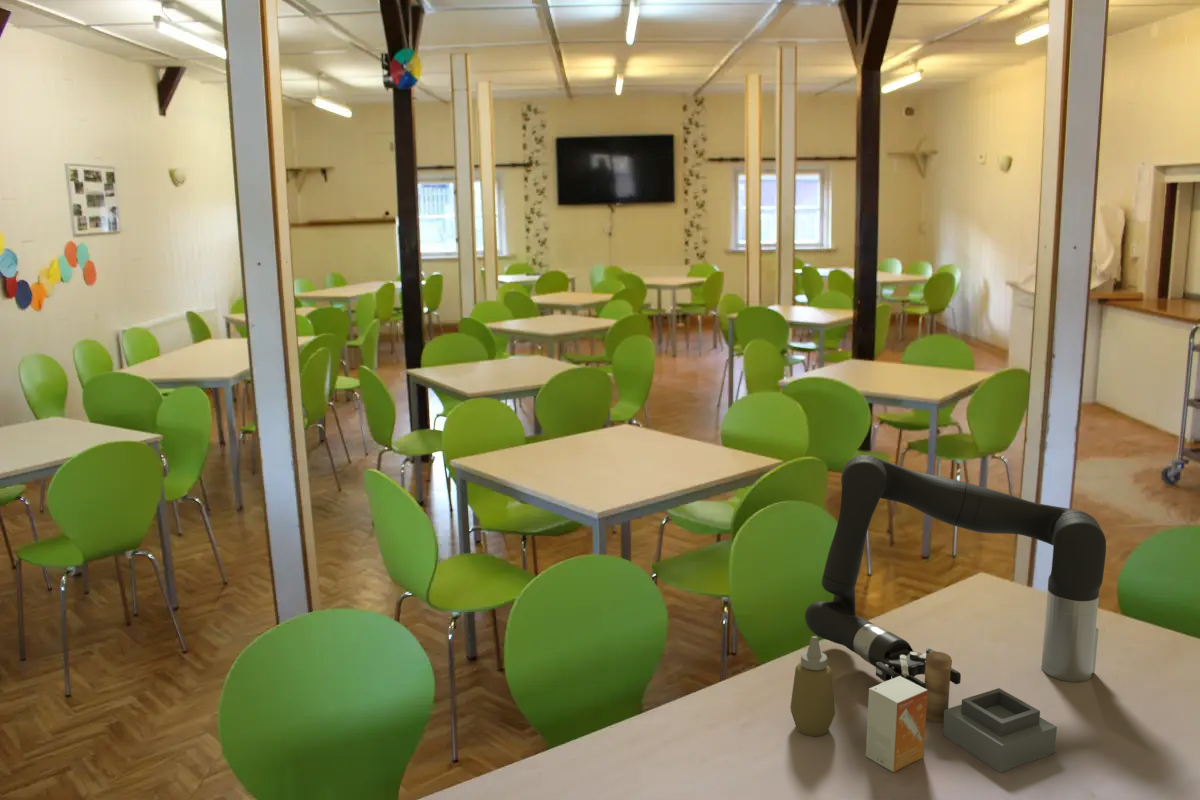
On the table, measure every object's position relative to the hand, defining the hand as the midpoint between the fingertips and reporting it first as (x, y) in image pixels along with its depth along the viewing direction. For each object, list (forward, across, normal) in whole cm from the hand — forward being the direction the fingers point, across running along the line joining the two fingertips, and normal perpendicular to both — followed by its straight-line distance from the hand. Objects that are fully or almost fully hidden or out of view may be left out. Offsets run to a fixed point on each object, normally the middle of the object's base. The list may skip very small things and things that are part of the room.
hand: (941, 684), depth 177 cm
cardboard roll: (-1, 0, +7) cm, 7 cm away
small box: (+6, -16, +7) cm, 19 cm away
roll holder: (+11, +3, +7) cm, 13 cm away
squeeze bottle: (-8, -23, +7) cm, 25 cm away
